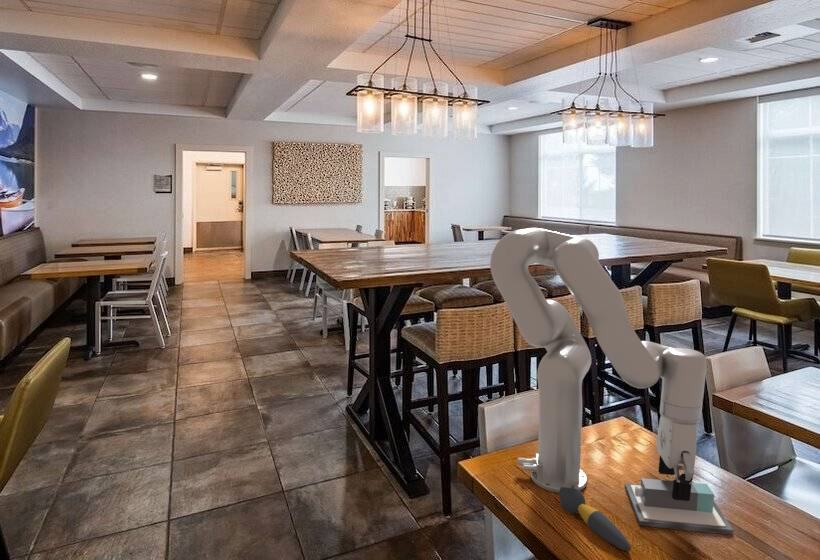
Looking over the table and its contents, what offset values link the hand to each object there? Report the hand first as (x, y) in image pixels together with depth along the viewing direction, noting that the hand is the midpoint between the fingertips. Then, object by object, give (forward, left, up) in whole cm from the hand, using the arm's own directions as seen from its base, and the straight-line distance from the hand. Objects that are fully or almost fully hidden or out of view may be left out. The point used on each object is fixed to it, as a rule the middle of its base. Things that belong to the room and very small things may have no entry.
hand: (673, 486), depth 107 cm
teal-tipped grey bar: (+1, 0, -4) cm, 4 cm away
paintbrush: (-17, -8, -6) cm, 20 cm away
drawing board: (+1, 0, -5) cm, 5 cm away
